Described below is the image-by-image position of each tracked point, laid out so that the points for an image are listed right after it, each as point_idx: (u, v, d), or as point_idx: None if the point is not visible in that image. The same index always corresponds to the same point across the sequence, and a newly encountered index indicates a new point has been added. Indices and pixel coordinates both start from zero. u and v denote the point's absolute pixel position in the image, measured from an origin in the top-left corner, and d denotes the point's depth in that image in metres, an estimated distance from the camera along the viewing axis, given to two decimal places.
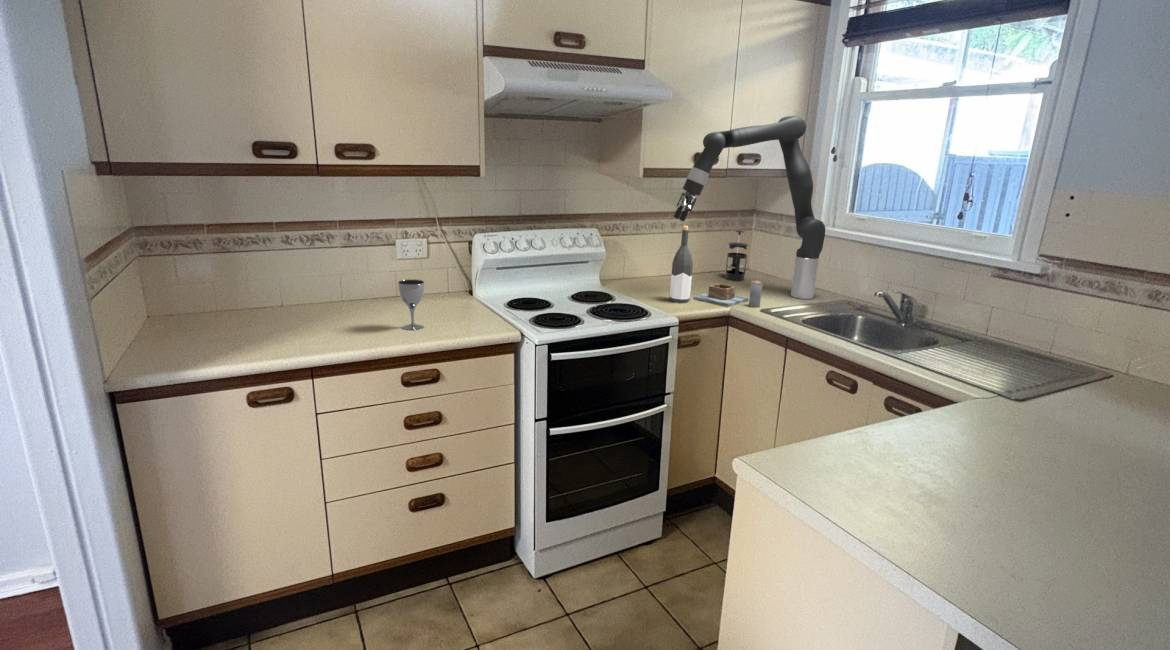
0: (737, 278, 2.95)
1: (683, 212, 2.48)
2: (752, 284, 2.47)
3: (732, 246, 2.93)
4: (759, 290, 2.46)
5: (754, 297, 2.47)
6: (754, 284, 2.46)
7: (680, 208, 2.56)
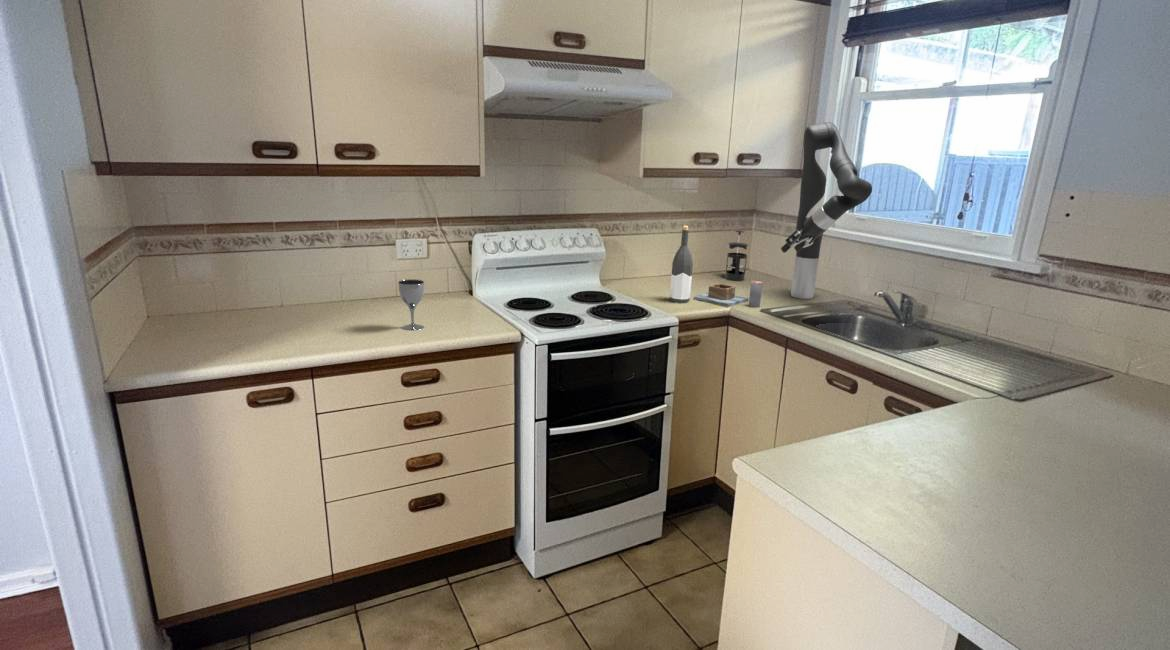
0: (737, 278, 2.95)
1: None
2: (752, 284, 2.47)
3: (732, 246, 2.93)
4: (759, 290, 2.46)
5: (754, 297, 2.47)
6: (754, 284, 2.46)
7: None
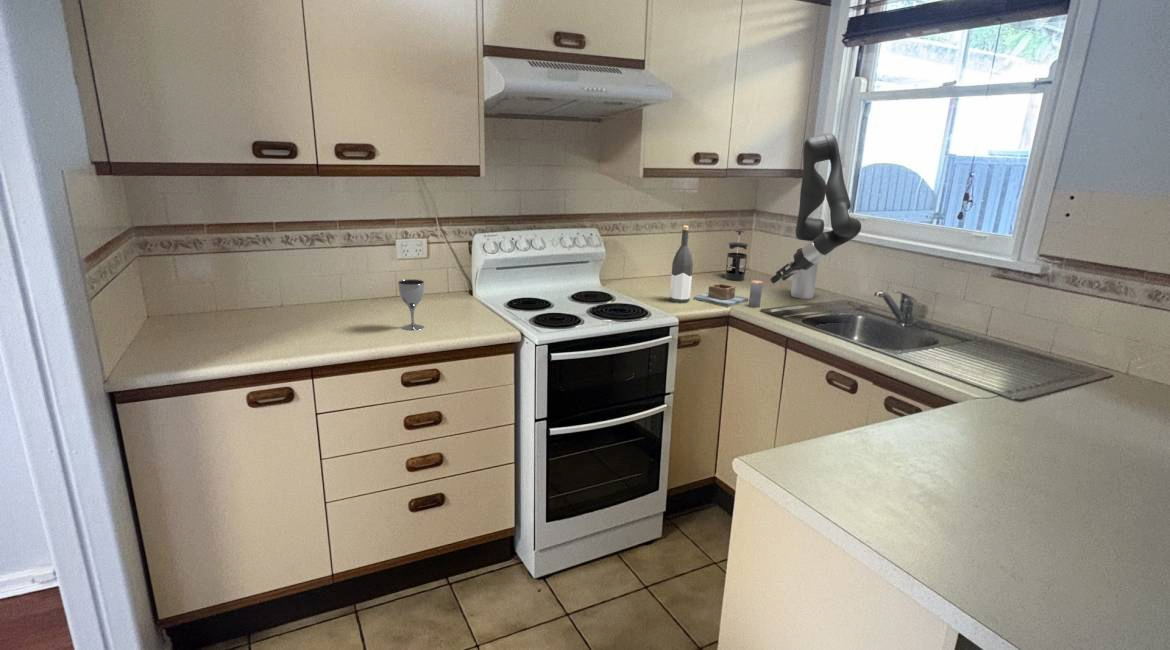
0: (737, 278, 2.95)
1: (790, 275, 2.42)
2: (752, 284, 2.47)
3: (732, 246, 2.93)
4: (759, 290, 2.46)
5: (754, 297, 2.47)
6: (754, 284, 2.46)
7: None
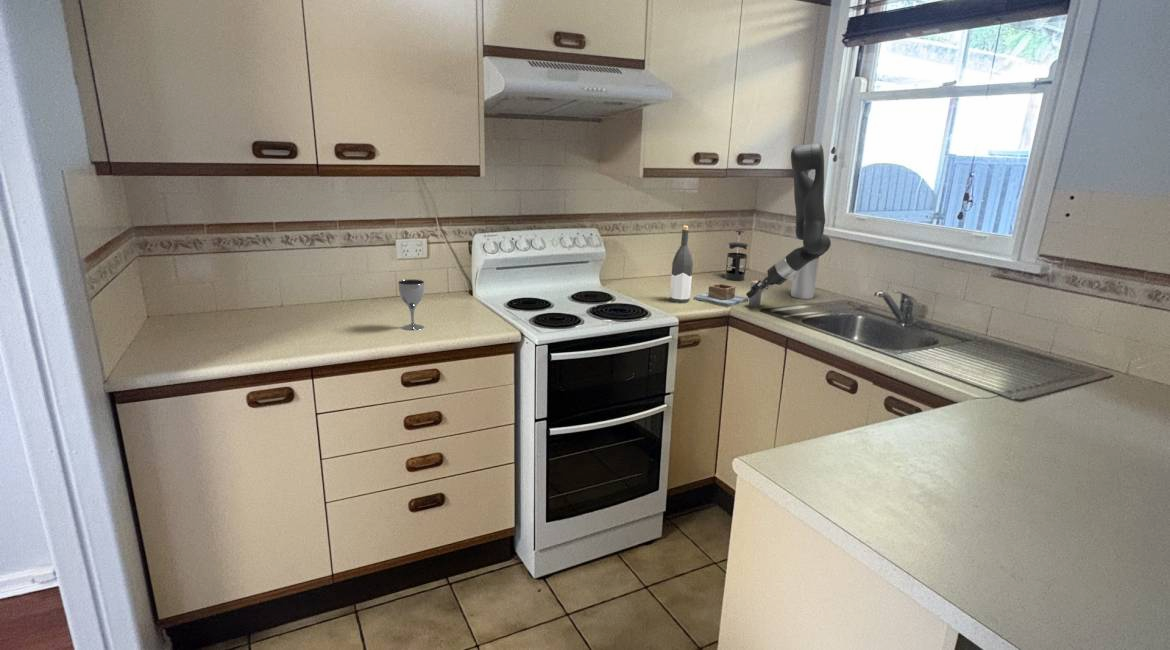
0: (737, 278, 2.95)
1: None
2: (752, 284, 2.47)
3: (732, 246, 2.93)
4: None
5: (754, 297, 2.47)
6: (754, 284, 2.46)
7: None
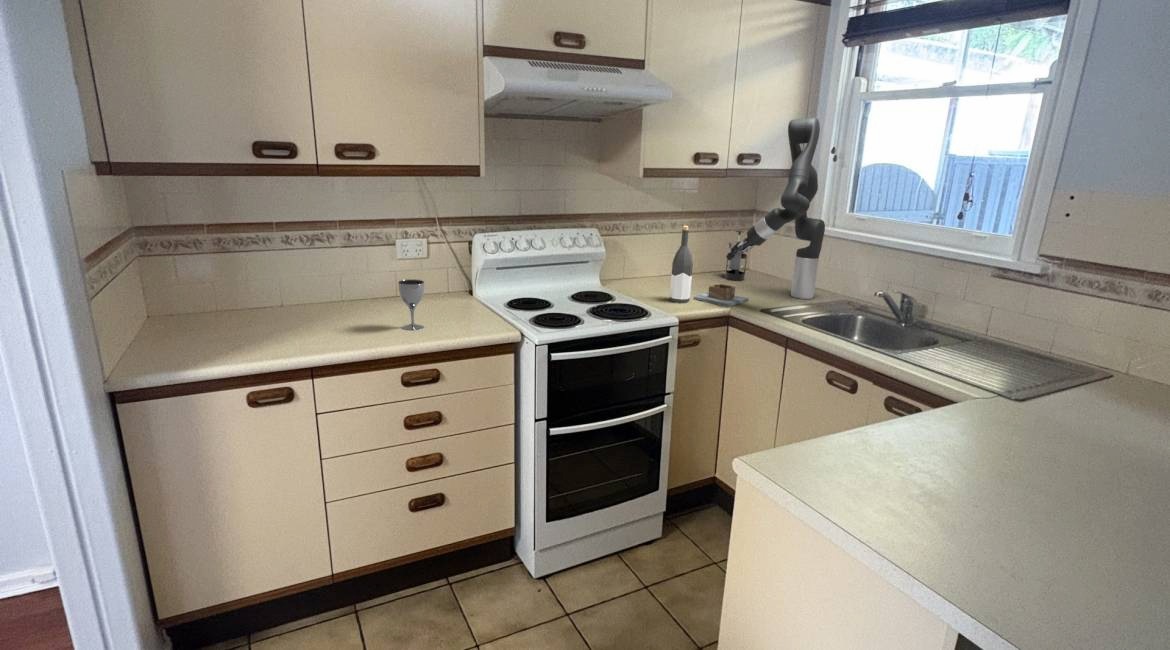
0: (737, 278, 2.95)
1: None
2: (732, 246, 2.48)
3: None
4: None
5: (734, 259, 2.48)
6: None
7: None
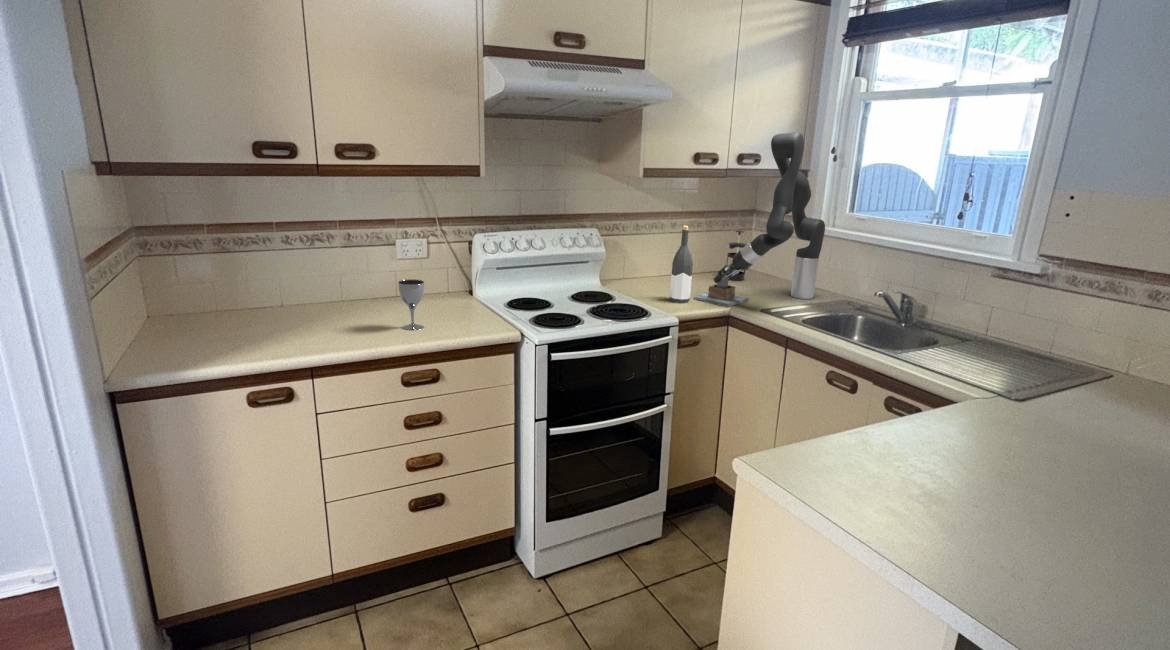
0: (737, 278, 2.95)
1: (730, 275, 2.57)
2: None
3: (732, 246, 2.93)
4: (725, 281, 2.54)
5: (720, 287, 2.54)
6: None
7: None
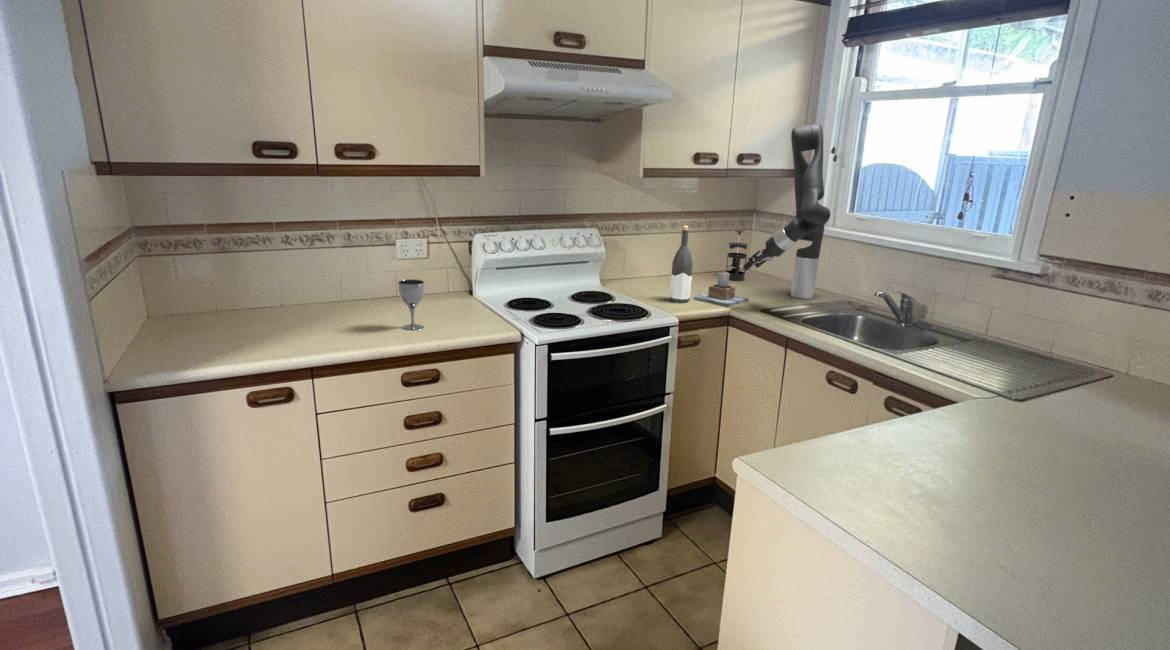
0: (737, 278, 2.95)
1: None
2: (719, 276, 2.54)
3: (732, 246, 2.93)
4: (725, 281, 2.53)
5: None
6: (721, 276, 2.53)
7: None
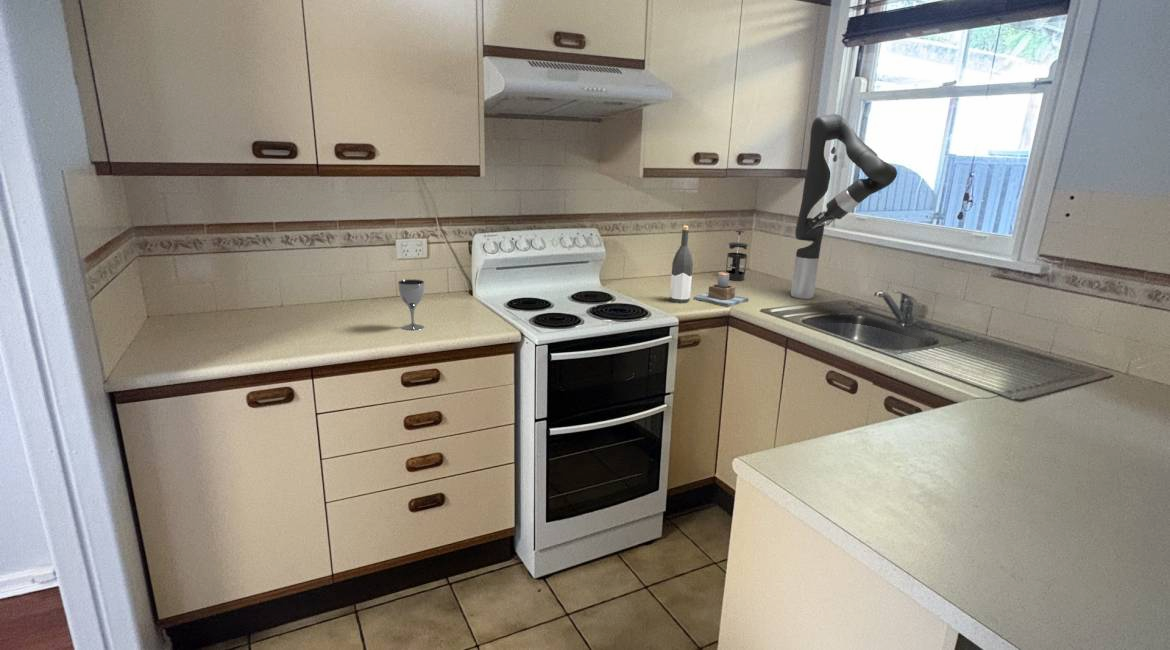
0: (737, 278, 2.95)
1: (821, 226, 2.41)
2: (719, 276, 2.54)
3: (732, 246, 2.93)
4: (726, 281, 2.53)
5: None
6: (721, 276, 2.53)
7: None
